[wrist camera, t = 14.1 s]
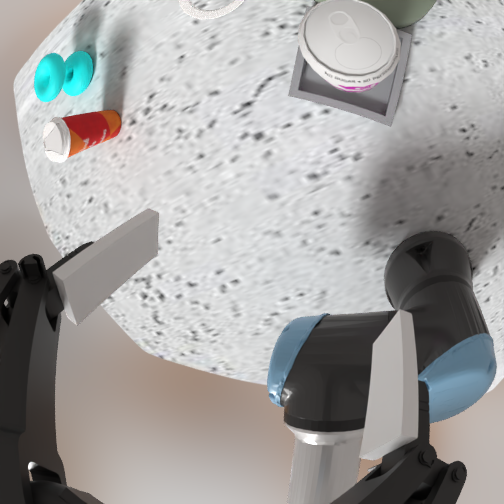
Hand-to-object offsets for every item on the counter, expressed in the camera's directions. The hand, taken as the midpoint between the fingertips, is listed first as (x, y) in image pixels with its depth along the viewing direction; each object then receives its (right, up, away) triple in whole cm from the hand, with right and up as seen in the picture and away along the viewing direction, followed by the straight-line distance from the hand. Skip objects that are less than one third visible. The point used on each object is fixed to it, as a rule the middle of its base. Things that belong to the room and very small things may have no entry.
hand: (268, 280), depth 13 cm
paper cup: (-27, +25, +30) cm, 47 cm away
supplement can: (+11, +24, +13) cm, 30 cm away
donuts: (-35, +38, +25) cm, 58 cm away
